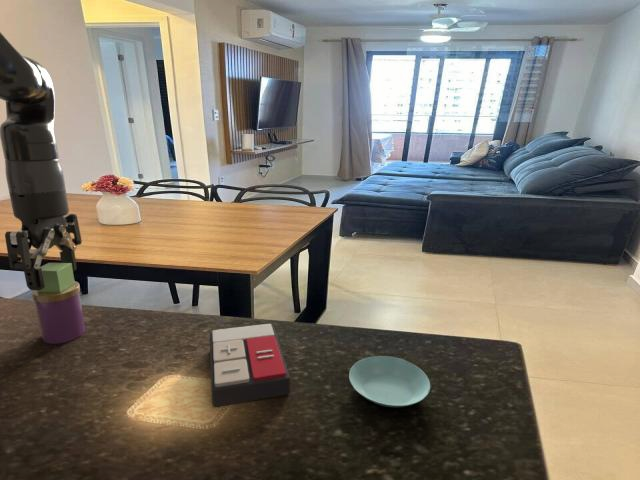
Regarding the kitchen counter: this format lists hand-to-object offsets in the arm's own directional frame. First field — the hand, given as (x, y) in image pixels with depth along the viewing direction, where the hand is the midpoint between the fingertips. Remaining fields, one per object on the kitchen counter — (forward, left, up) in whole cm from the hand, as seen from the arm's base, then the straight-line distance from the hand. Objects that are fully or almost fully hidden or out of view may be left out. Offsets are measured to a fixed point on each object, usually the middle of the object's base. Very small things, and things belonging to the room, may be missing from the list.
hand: (54, 279), depth 67 cm
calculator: (+34, +14, -11) cm, 38 cm away
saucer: (+53, +25, -11) cm, 60 cm away
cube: (0, 0, -2) cm, 2 cm away
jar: (0, 0, -11) cm, 11 cm away
